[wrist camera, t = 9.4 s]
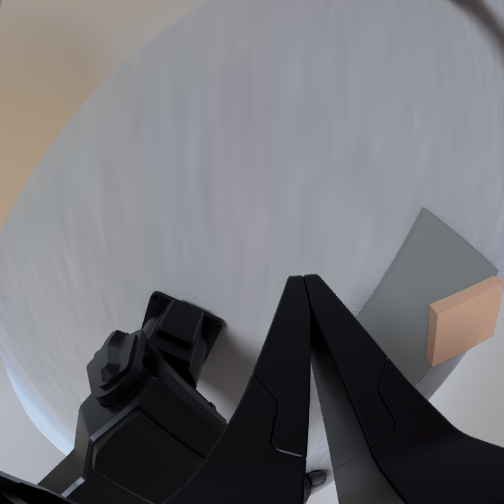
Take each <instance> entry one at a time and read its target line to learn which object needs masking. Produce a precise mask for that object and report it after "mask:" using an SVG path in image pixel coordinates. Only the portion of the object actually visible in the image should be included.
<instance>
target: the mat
mask: <svg viewBox="0 0 504 504" xmlns="http://www.w3.org/2000/svg"><path fill="white" fill-rule="evenodd" d="M497 272H498V269H497V268H496V267H495V266H494V265H493V264H492V263H491V262H489V261H488V260H487V259H486V258H485V257H484V256H483V255H482V254H481V253H480V252H479V251H477V250H476V249H475V248H474V247H473V246H472V245H471V244H470V243H468V242H467V241H466V240H465V239H464V238H463V237H461V236H460V235H459V234H458V233H457V232H455V231H454V230H453V229H452V228H450V227H449V226H448V225H447V224H445V223H444V222H443V221H442V220H440V219H439V218H438V217H436V216H435V215H434V214H432V213H431V212H430V211H428V210H427V209H425V208H422V210H421V212H420V213H419V215H418V217H417V219H416V221H415V223H414V225H413V227H412V229H411V231H410V232H409V234H408V236H407V238H406V240H405V241H404V243H403V245H402V247H401V249H400V250H399V252H398V254H397V255H396V257H395V259H394V260H393V262H392V264H391V265H390V267H389V269H388V270H387V272H386V274H385V275H384V277H383V278H382V280H381V282H380V283H379V285H378V286H377V288H376V289H375V291H374V292H373V294H372V295H371V297H370V298H369V300H368V301H367V303H366V304H365V306H364V307H363V309H362V310H361V312H360V313H359V315H358V316H357V317H356V319H357V320H358V321H359V322H360V324H361V325H362V326H363V327H364V328H365V329H366V331H367V332H368V333H369V334H370V335H371V337H372V338H373V339H374V340H375V341H376V343H377V344H378V345H379V346H380V347H381V349H382V350H383V351H384V352H385V353H386V355H387V356H388V357H387V358H390V359H391V361H392V362H393V363H394V364H395V366H396V367H397V368H398V369H399V370H400V372H401V373H402V374H403V375H404V376H405V377H406V379H407V380H408V381H409V382H410V383H411V384H412V385H413V386H415V385H416V384H417V383H418V382H419V381H420V380H421V379H422V377H423V376H424V375H425V374H426V373H427V372H428V371H429V370H430V368H431V366H430V364H429V362H428V361H427V359H426V350H427V339H428V327H429V310H430V304H432V303H435V302H437V301H439V300H442V299H444V298H446V297H449V296H451V295H453V294H456V293H458V292H460V291H462V290H465V289H467V288H469V287H471V286H473V285H475V284H477V283H479V282H482V281H484V280H486V279H488V278H490V277H492V276H496V274H497Z"/></svg>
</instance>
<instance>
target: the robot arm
mask: <svg viewBox="0 0 504 504" xmlns="http://www.w3.org/2000/svg"><path fill="white" fill-rule="evenodd" d="M155 296H157V297H158V298H159V299H156V298H155ZM215 323H218V324H219V325H216V324H215ZM222 325H223V321H222V320H221V319H220V318H218V317H215V316H213V315H210V314H208V313H206V312H203V311H202V310H200V309H198V308H195V307H193V306H191V305H188V304H186V303H184V302H182V301H179V300H177V299H174V298H171V297H169V296H167V295H165V294H163V293H160V292H158V291H155V292H153V293H152V295H151V297H150V300H149V303H148V307H147V310H146V314H145V318H144V321H143V325H142V329H140V330H138V331H136V332H134V333H132V334H130V335H129V334H128V333H124V332H122V331H119V330H116V331H114V332H112V333H111V334H110V336H109V337H108V338H107V340H106V341H105V343H104V344H103V346H102V348H101V349H100V350H99V351H97V352H96V353H95V354H94V358H93V359H92V360H91V361H90V362H89V364H88V365H87V373H88V378H89V383H90V388H91V394H90V396H89V397H88V398H87V399H86V400H85V401H84V402H83V403H82V405H81V406H80V408H79V414H78V421H77V428H76V437H75V446H74V449H73V450H72V451H71V453H70V454H69V455H68V456H67V457H66V458H65V459H64V460H63V461H61V462H60V463H59V464H58V465H57V466H56V467H55V468H54V469H53V470H52V471H51V472H50V473H49V474H48V475H47V476H46V477H45V478H44V479H43V480H42V481H40V483H38V484H37V485H35V484H33V483H30V482H27V481H24V480H21V479H19V478H16V477H14V476H11V475H9V474H6V473H4V472H2V471H0V504H304V490H305V472H306V457H307V445H308V428H309V407H310V374H311V364H312V369H313V373H314V378H315V383H316V387H317V392H318V396H319V401H320V406H321V411H322V416H323V420H324V425H325V430H326V435H327V441H328V446H329V451H330V456H331V462H332V467H333V473H334V478H335V484H336V490H337V495H338V502H339V504H504V448H503V447H500V446H497V445H494V444H491V443H488V442H485V441H482V440H480V439H477V438H474V437H471V436H469V435H467V434H465V433H463V432H461V431H460V430H458V429H457V428H456V427H454V426H453V425H452V424H451V423H450V422H449V421H448V420H447V419H446V418H445V417H444V416H443V415H442V414H441V413H440V412H439V411H438V410H437V409H436V408H435V407H434V406H433V405H432V404H431V403H430V402H429V401H428V400H427V399H426V398H425V397H424V396H423V395H422V394H421V393H420V392H419V391H418V390H417V389H416V388H415V387H414V386H413V385H412V384H411V383H410V382H409V381H408V380H407V379H406V377H405V376H404V375H403V374H402V373H401V372H400V370H399V369H398V368H397V367H396V366H395V364H394V363H393V362H392V361H391V359H390V358H387V357H388V356H387V355H386V353H385V352H384V351H383V350H382V349H381V347H380V346H379V345H378V344H377V343H376V341H375V340H374V339H373V338H372V337H371V335H370V334H369V333H368V332H367V331H366V329H365V328H364V327H363V326H362V325H361V324H360V322H359V321H358V320H357V319H356V318H355V316H354V315H353V314H352V313H351V312H350V311H349V309H348V308H347V307H346V306H345V305H344V304H343V303H342V301H341V300H340V299H339V298H338V297H337V296H336V294H335V293H334V292H333V291H332V290H331V289H330V288H329V286H328V285H327V284H326V283H325V282H324V281H323V280H322V279H321V277H320V276H319V275H317V274H309V275H304V276H301V275H298V276H289V277H288V279H287V282H286V285H285V288H284V290H283V293H282V296H281V299H280V302H279V304H278V307H277V310H276V313H275V315H274V318H273V321H272V324H271V326H270V329H269V332H268V334H267V337H266V340H265V342H264V345H263V347H262V350H261V353H260V355H259V358H258V360H257V363H256V366H255V368H254V371H253V375H251V378H250V380H249V383H248V385H247V388H246V390H245V392H244V394H243V396H242V399H241V401H240V403H239V405H238V407H237V409H236V411H235V412H234V414H233V416H232V418H231V420H230V421H229V423H228V424H227V422H226V419H225V418H224V417H222V416H221V415H220V414H219V413H218V412H217V410H216V407H215V405H214V404H212V403H211V402H209V401H207V400H206V399H205V398H204V397H203V396H202V395H201V394H200V393H199V392H198V391H197V390H196V387H197V383H198V379H199V376H200V372H201V368H202V366H203V364H204V362H205V360H206V358H207V356H208V354H209V352H210V350H211V348H212V346H213V344H214V342H215V340H216V338H217V336H218V334H219V332H220V330H221V328H222Z"/></svg>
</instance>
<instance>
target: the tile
mask: <svg viewBox="0 0 504 504" xmlns="http://www.w3.org/2000/svg"><path fill="white" fill-rule="evenodd" d="M503 283H504V282H503V281H501V280H500V279H499V278H497V277H496V276H492V277H490V278H488V279H486V280H484V281H482V282H479V283H477V284H475V285H473V286H471V287H469V288H467V289H465V290H462V291H460V292H458V293H456V294H453V295H451V296H449V297H446V298H444V299H442V300H439V301H437V302H435V303H432V304H430V310H429V327H428V339H427V350H426V359H427V361H428V362H429V364H430V366H431V367H434V366H436V365H438V364H440V363H442V362H444V361H447V360H449V359H451V358H453V357H455V356H457V355H459V354H461V353H463V352H465V351H466V350H468V349H470V348H472V347H474V346H476V345H477V344H479V343H481V342H483V341H485V340H486V339H488V338H490V337H491V336H493V334H494V330H495V326H496V322H497V317H498V312H499V307H500V302H501V296H502V290H503Z"/></svg>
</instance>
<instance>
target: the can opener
mask: <svg viewBox="0 0 504 504" xmlns="http://www.w3.org/2000/svg"><path fill="white" fill-rule="evenodd" d="M325 481H326V474H325V472H324V471H321V472H313V473H309V474H307V476H305V490H304V504H306V501H307V500H308V498H309V496H310V493H311V489H312V488H315V487H318V486H320V485H322V484H324V483H325Z"/></svg>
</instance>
